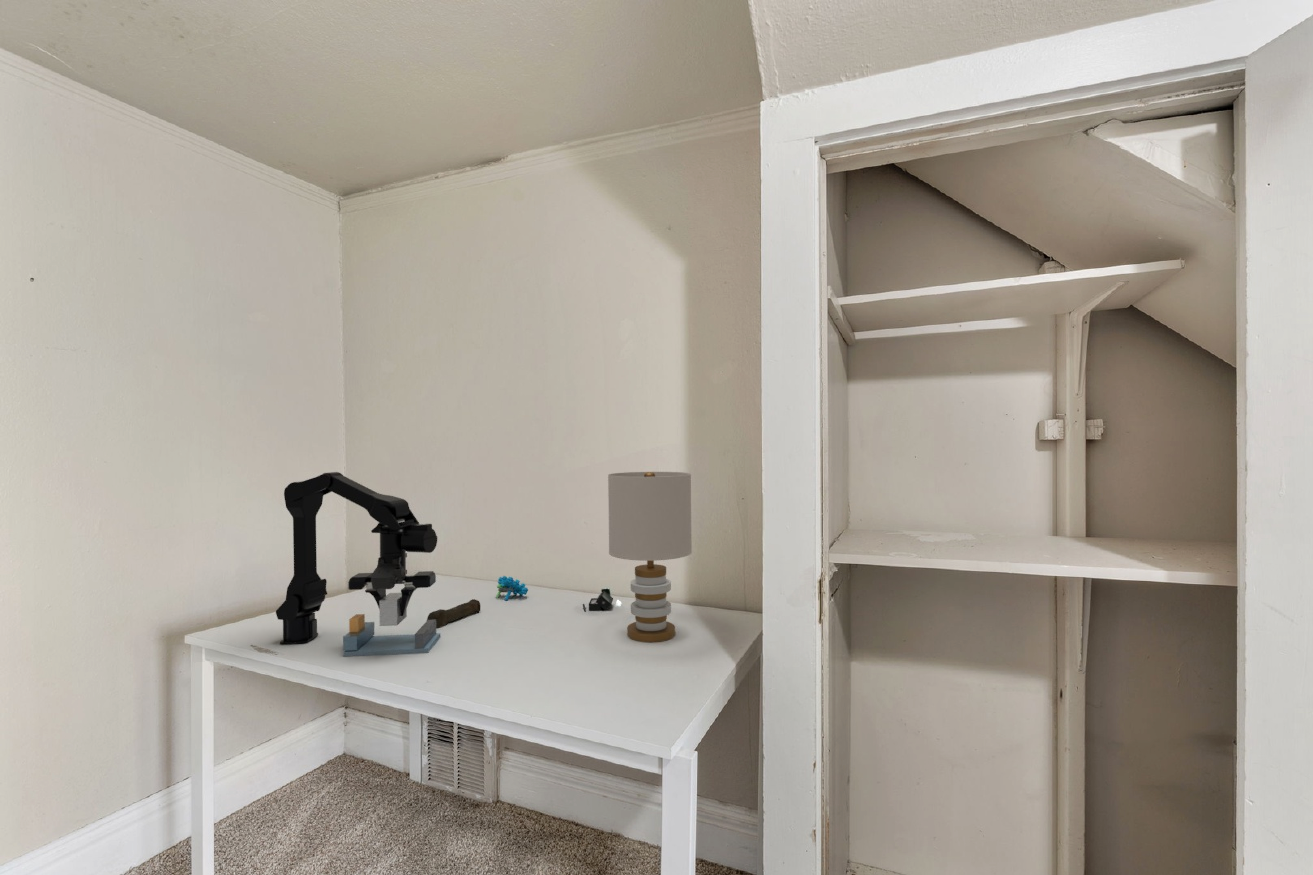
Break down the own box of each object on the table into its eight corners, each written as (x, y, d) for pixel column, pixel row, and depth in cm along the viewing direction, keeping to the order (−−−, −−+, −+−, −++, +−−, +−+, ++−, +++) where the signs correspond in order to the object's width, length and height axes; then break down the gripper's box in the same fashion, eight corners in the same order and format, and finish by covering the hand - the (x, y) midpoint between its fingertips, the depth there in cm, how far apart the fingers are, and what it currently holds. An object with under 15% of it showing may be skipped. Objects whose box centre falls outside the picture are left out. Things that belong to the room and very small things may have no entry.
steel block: (379, 626, 142) (379, 600, 142) (389, 617, 149) (389, 592, 149) (397, 625, 142) (397, 600, 142) (406, 616, 149) (406, 592, 149)
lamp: (685, 651, 140) (683, 475, 140) (599, 645, 144) (597, 474, 144) (697, 623, 161) (696, 469, 161) (621, 619, 165) (620, 469, 165)
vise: (343, 656, 139) (343, 636, 139) (362, 640, 150) (361, 622, 150) (428, 652, 141) (428, 633, 141) (440, 637, 152) (440, 619, 152)
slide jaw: (343, 650, 139) (343, 623, 139) (361, 635, 150) (361, 610, 150) (356, 650, 139) (356, 623, 139) (374, 634, 150) (374, 609, 150)
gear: (535, 591, 189) (515, 573, 184) (526, 608, 186) (507, 590, 180) (510, 592, 195) (491, 574, 190) (502, 608, 192) (482, 590, 186)
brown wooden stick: (470, 611, 175) (470, 595, 175) (481, 613, 173) (481, 597, 173) (418, 631, 158) (418, 613, 158) (429, 633, 156) (429, 615, 156)
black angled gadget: (623, 617, 169) (623, 597, 169) (569, 617, 169) (569, 597, 169) (626, 602, 184) (626, 584, 184) (578, 602, 184) (577, 584, 184)
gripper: (338, 559, 137) (338, 627, 137) (423, 556, 138) (423, 624, 138) (357, 549, 148) (358, 613, 148) (436, 548, 149) (436, 610, 149)
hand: (393, 615), depth 145 cm, fingers closed on steel block, 4 cm apart
